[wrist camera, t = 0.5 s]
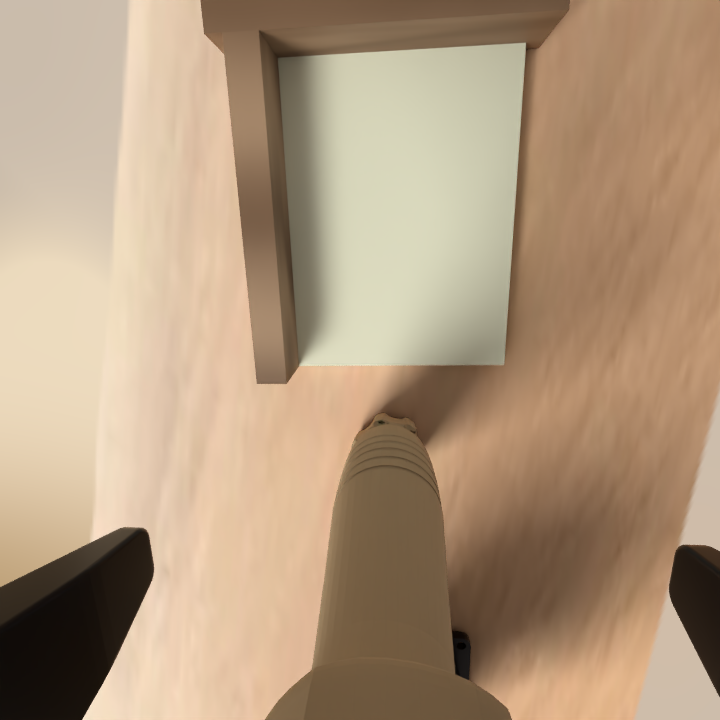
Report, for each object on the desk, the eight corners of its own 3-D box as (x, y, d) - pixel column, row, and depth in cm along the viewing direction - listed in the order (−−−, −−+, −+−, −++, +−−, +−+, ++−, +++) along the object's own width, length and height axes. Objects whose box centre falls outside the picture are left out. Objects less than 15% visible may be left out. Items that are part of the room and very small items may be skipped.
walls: (514, 361, 20) (535, 383, 17) (263, 362, 21) (242, 383, 18) (541, 9, 16) (573, -39, 13) (232, 29, 17) (199, -11, 14)
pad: (500, 361, 20) (504, 365, 19) (301, 361, 20) (299, 365, 20) (521, 49, 16) (526, 42, 16) (281, 63, 17) (277, 57, 16)
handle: (454, 389, 20) (600, 781, 6) (423, 507, 22) (476, 1021, 8) (351, 369, 20) (247, 705, 6) (329, 488, 22) (210, 960, 8)
